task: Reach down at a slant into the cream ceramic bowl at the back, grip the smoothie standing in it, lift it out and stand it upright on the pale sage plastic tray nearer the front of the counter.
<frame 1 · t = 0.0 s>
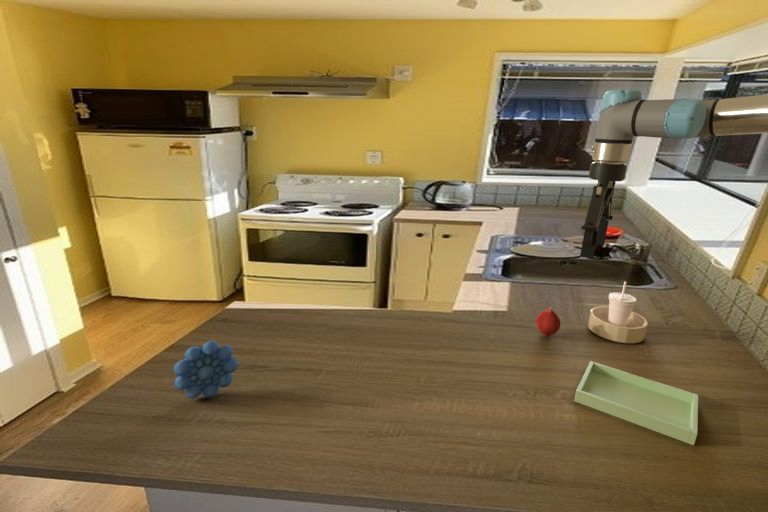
hand: (592, 250, 104), 23 cm above the worktop, tool pointing down, fingers open, 13 cm apart
smoothie: (615, 331, 112), resting on bowl
blue flower: (210, 394, 83), on the worktop
onion: (545, 336, 109), on the worktop
bowl: (615, 331, 112), on the worktop
tray: (634, 403, 84), on the worktop
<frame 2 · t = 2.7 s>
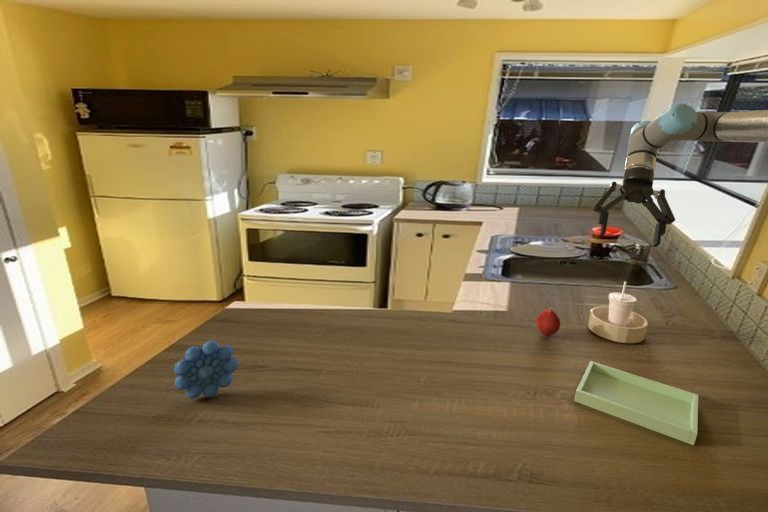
hand: (629, 240, 116), 22 cm above the worktop, tool tilted 35°, fingers open, 13 cm apart
nothing on the worktop moved.
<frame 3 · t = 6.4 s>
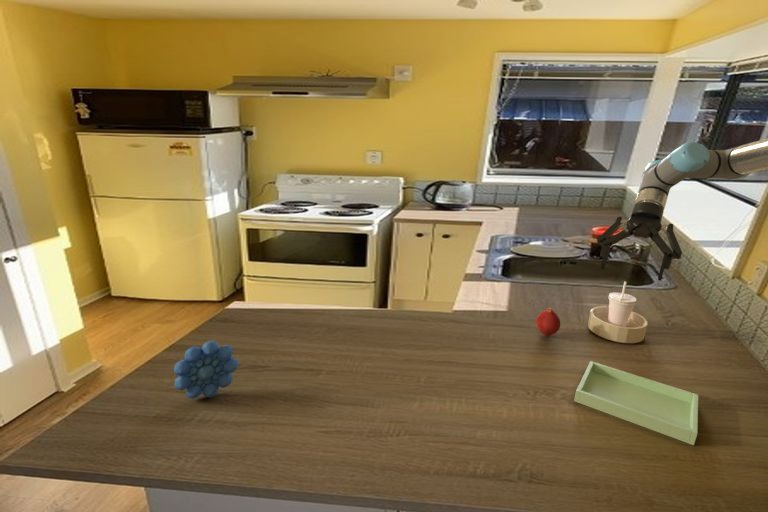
hand: (630, 272, 114), 15 cm above the worktop, tool tilted 45°, fingers open, 13 cm apart
nothing on the worktop moved.
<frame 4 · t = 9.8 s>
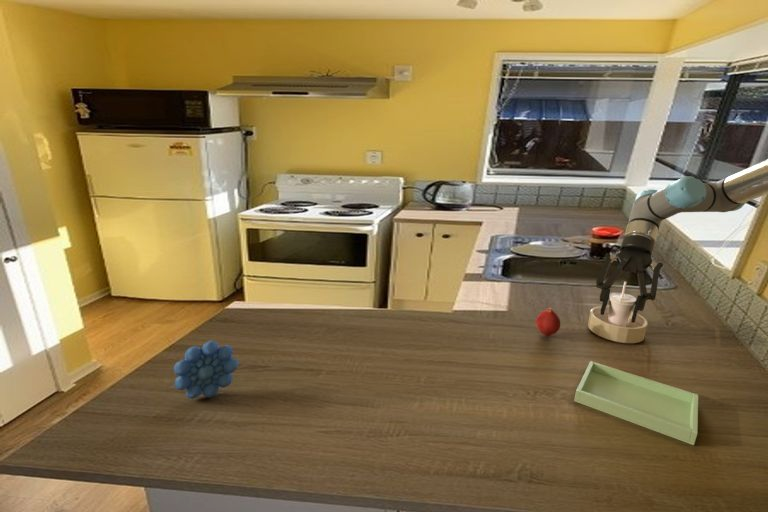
hand: (617, 316, 108), 6 cm above the worktop, tool tilted 45°, fingers closed on smoothie, 6 cm apart
smoothie: (615, 331, 112), resting on bowl, touching gripper
everything else where it was.
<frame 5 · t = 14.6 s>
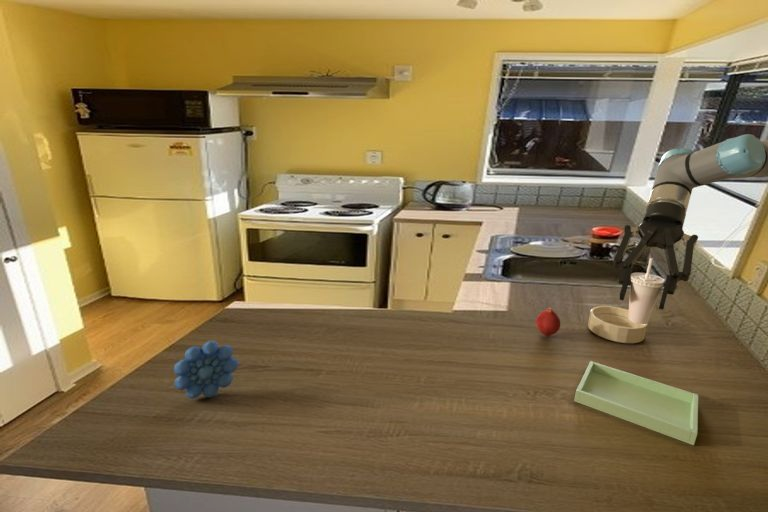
hand: (641, 301, 86), 18 cm above the worktop, tool tilted 45°, fingers closed on smoothie, 6 cm apart
smoothie: (637, 320, 91), point 13 cm above the worktop, touching gripper
everything else where it was.
when the fingers open (6 cm above the worktop, at t = 19.9 s): smoothie stays where it is, resting on tray.
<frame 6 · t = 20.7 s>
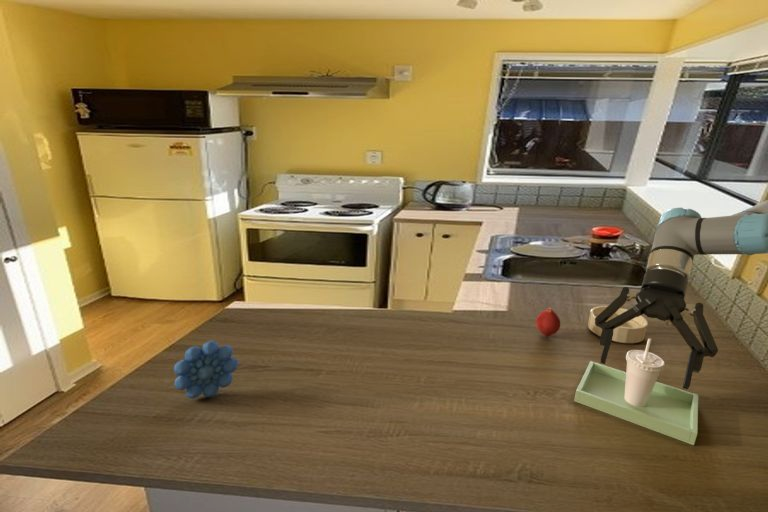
hand: (642, 373, 79), 8 cm above the worktop, tool tilted 45°, fingers open, 13 cm apart
smoothie: (634, 401, 84), resting on tray
everything else where it was.
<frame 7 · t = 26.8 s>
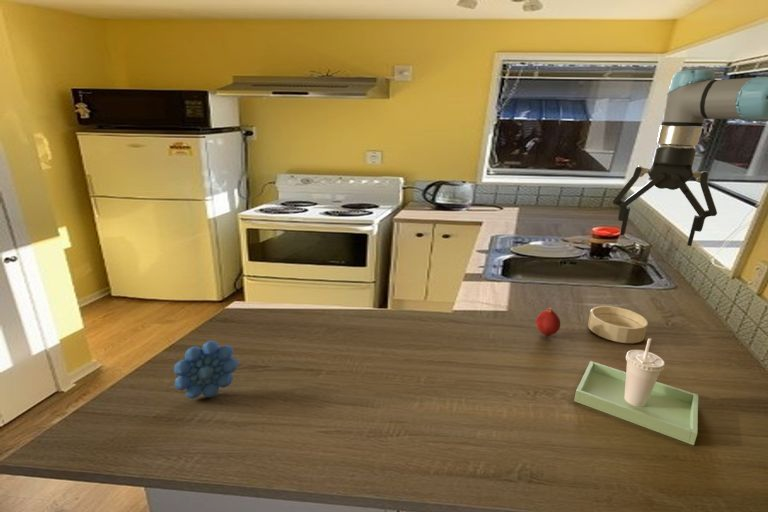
hand: (654, 239, 100), 27 cm above the worktop, tool pointing down, fingers open, 13 cm apart
nothing on the worktop moved.
at the end: smoothie inside the target area in the tray (0.1 cm from its centre), point 0.3 cm above the tray's base; smoothie tilted 0°; the gripper is holding nothing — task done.
